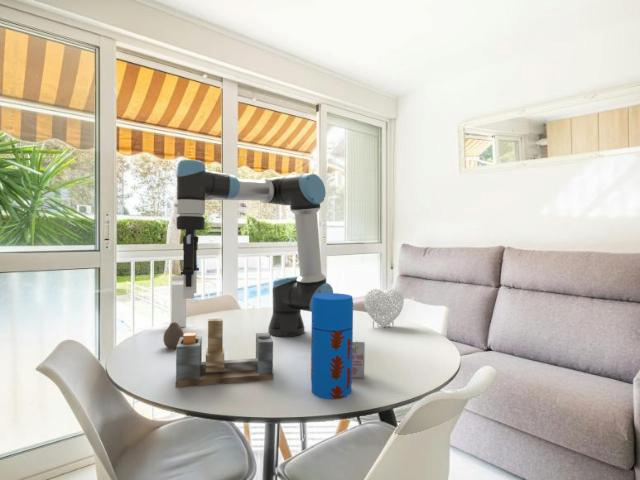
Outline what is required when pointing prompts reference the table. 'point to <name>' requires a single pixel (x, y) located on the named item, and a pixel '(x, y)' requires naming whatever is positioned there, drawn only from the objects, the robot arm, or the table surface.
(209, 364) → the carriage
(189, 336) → the button
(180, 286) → the milk
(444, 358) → the table surface
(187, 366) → the rail track
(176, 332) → the vase
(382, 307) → the decorative heart
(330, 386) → the thermos
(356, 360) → the white printed box
